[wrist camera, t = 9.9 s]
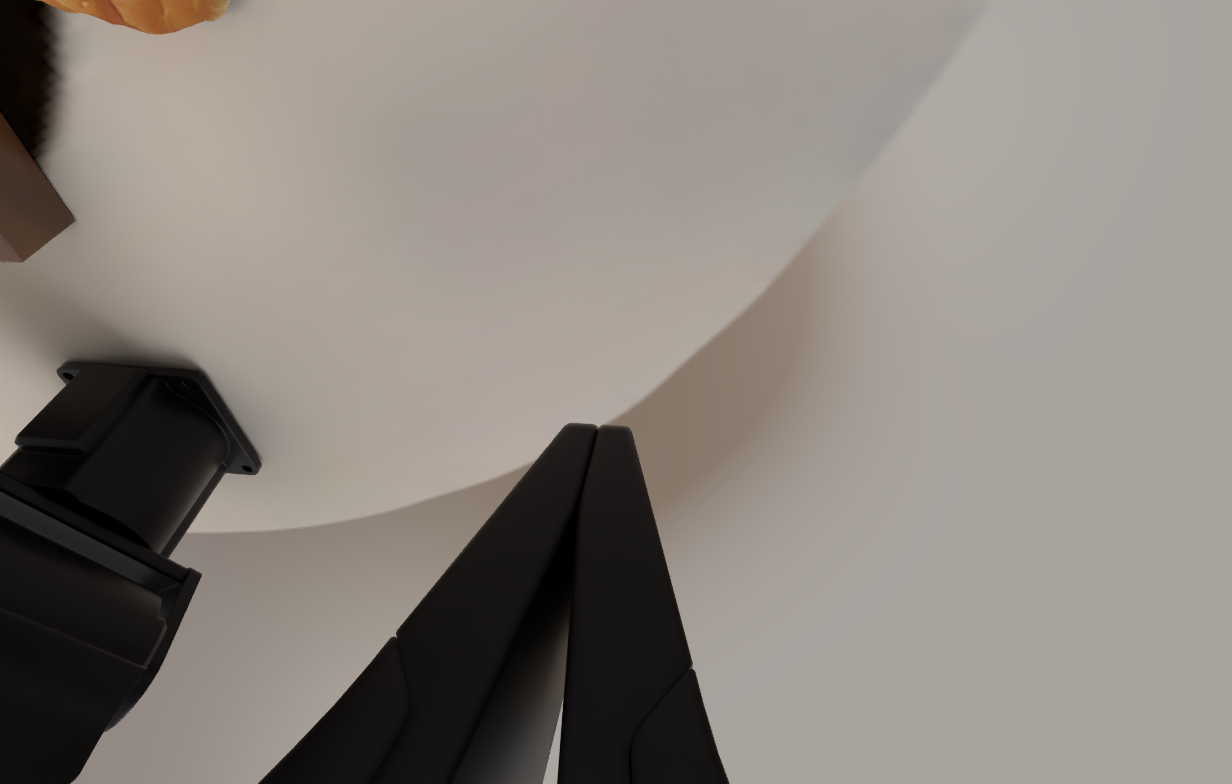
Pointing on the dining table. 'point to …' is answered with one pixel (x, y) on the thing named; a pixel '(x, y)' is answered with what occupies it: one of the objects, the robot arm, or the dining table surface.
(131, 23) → the pastry
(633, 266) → the dining table surface
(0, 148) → the strip
